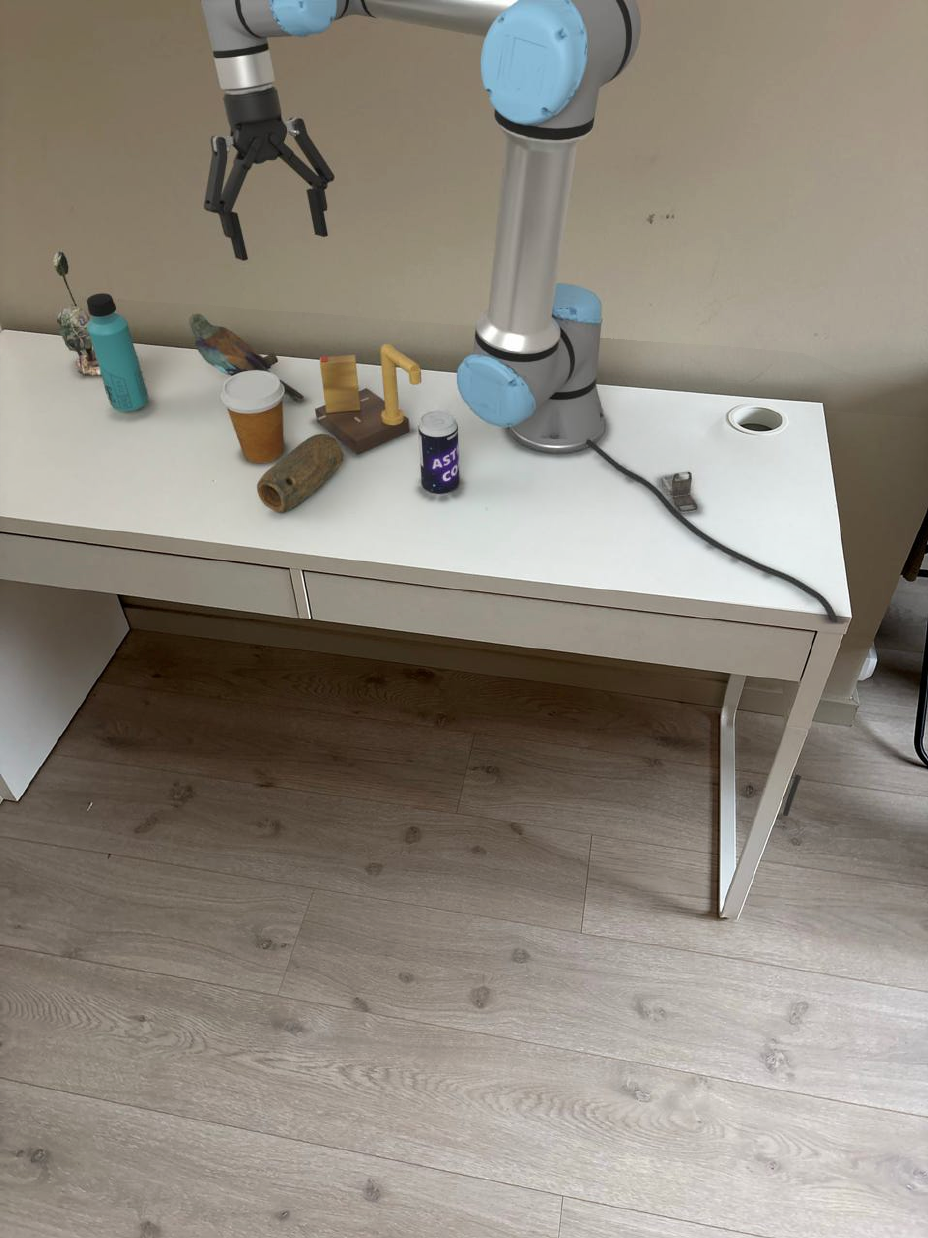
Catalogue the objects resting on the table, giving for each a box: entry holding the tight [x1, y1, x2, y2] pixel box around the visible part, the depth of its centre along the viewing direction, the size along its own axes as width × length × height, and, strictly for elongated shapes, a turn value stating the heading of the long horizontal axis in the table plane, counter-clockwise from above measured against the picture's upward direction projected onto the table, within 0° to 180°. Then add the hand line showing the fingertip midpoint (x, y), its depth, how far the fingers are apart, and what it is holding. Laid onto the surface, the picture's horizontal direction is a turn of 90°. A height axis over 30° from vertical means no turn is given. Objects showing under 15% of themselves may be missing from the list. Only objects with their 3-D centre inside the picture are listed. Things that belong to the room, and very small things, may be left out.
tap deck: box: [315, 387, 410, 455], centre depth 165 cm, size 14×11×3 cm
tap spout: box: [379, 343, 422, 425], centre depth 156 cm, size 10×4×13 cm, turn 38°
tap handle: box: [319, 354, 361, 413], centre depth 161 cm, size 6×2×9 cm, turn 97°
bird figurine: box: [188, 313, 305, 403], centre depth 170 cm, size 13×10×20 cm
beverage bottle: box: [86, 292, 150, 412], centre depth 163 cm, size 6×7×20 cm
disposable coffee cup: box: [220, 370, 285, 464], centre depth 157 cm, size 10×10×12 cm
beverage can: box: [417, 409, 460, 497], centre depth 149 cm, size 6×6×12 cm
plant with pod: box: [52, 250, 101, 377], centre depth 174 cm, size 8×11×20 cm
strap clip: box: [661, 470, 698, 514], centre depth 149 cm, size 8×3×4 cm, turn 11°
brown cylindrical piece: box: [256, 433, 345, 514], centre depth 151 cm, size 15×7×7 cm, turn 155°
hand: (282, 246), depth 152 cm, fingers open, 13 cm apart
